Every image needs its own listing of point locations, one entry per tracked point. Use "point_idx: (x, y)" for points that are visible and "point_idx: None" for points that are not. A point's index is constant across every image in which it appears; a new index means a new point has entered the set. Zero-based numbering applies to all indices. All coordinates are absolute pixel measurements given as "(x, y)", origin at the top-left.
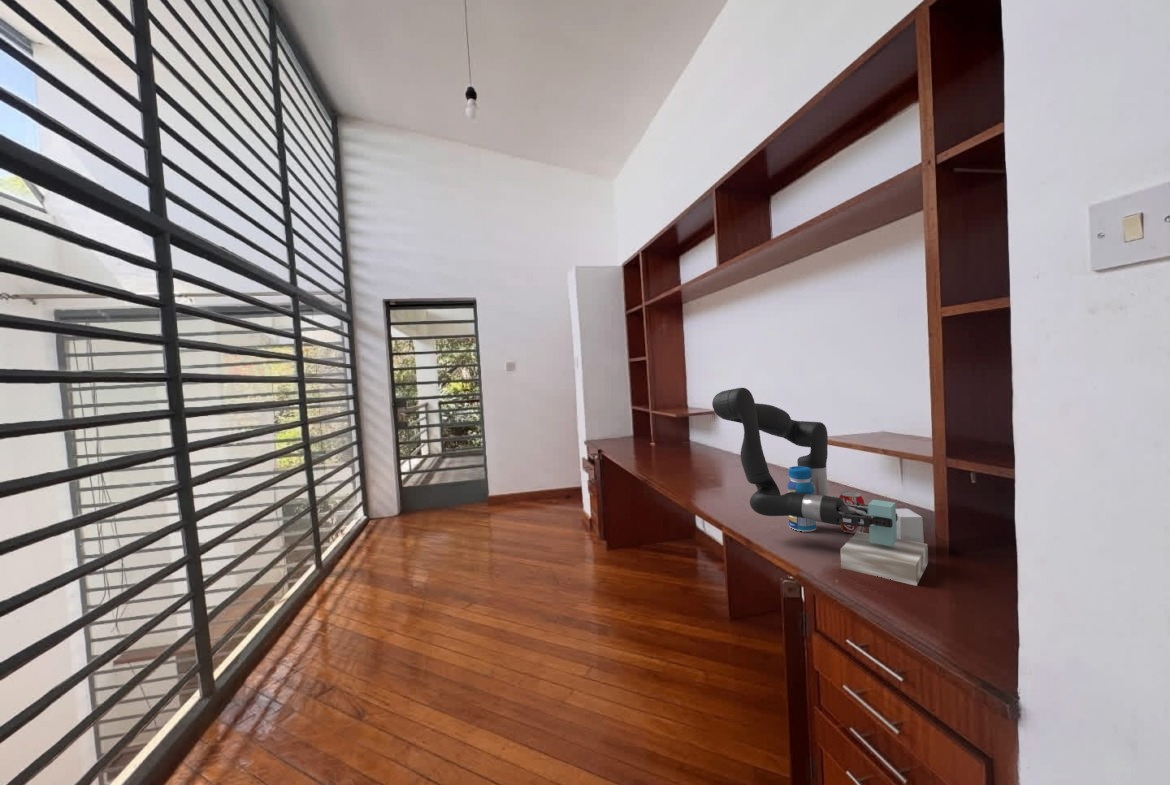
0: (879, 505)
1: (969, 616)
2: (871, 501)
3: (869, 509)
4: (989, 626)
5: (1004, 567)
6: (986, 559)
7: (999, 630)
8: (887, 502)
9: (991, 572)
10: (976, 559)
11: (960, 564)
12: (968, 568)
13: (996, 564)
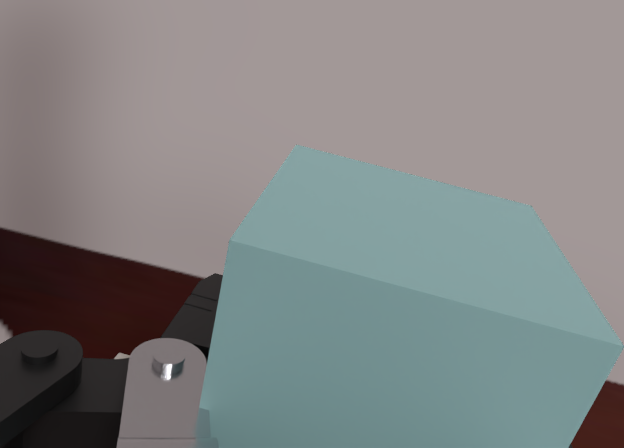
0: (555, 255)
1: (601, 433)
2: (391, 280)
3: (572, 417)
4: (617, 406)
5: (105, 257)
6: (25, 267)
7: (617, 393)
8: (331, 178)
9: (166, 293)
10: (27, 288)
11: (101, 341)
12: (144, 332)
13: (78, 262)
